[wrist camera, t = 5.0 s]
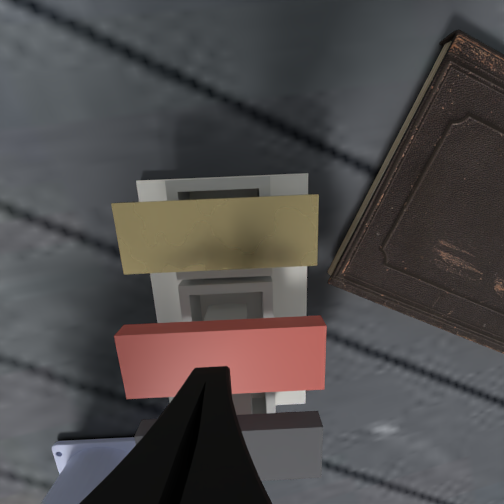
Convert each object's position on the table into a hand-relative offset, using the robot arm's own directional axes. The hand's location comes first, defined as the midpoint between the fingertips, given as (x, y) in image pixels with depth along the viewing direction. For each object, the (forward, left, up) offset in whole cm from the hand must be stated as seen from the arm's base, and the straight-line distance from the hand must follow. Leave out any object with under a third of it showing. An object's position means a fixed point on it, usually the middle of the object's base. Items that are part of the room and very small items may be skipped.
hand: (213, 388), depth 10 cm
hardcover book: (+3, -21, -10) cm, 23 cm away
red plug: (-1, 0, -7) cm, 7 cm away
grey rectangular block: (-7, 0, -7) cm, 9 cm away
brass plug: (+5, 0, -8) cm, 10 cm away
